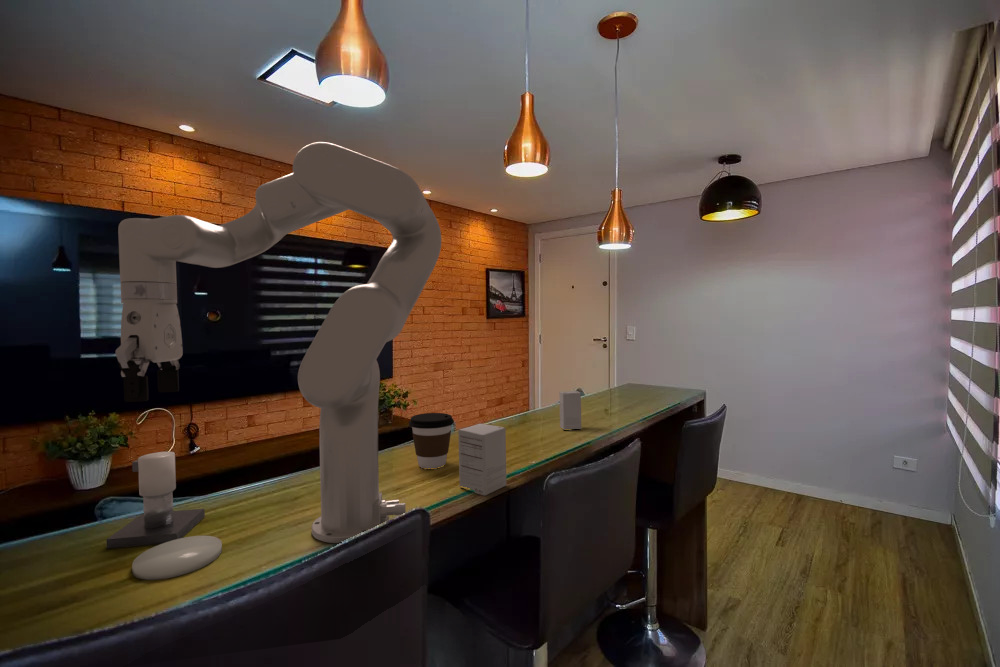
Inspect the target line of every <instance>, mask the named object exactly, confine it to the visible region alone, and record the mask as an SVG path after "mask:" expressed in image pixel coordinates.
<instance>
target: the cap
mask: <svg viewBox="0 0 1000 667" xmlns="http://www.w3.org/2000/svg"><path fill="white" fill-rule="evenodd" d="M131 466H132V468H131V469H132V472H133V473H135V472H138V491H139V492H138V493H139V494H138V495H139V496H140V497H143V496H157V495H161V494H165V493H168V492H171V491H172V492H174V491H175V490H176V489H177V483H176V482H177V480H176V479H177V478H176V477H177V476H176V453H175V451H160V452H159V451H158V452H152V453H148V454H144V455H142V456H139V457H138V458H137V459H136V460H134V461H132V463H131Z"/></svg>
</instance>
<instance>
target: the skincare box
mask: <svg viewBox="0 0 1000 667" xmlns="http://www.w3.org/2000/svg"><path fill="white" fill-rule="evenodd" d="M558 396H559V397H558V398H559V428H560V427H561V428H563V429H564V430H565V429H581V430H582V393H581V392H579V391H578V390H568V391H566V390H565V391H559V395H558ZM561 428H560V429H561Z"/></svg>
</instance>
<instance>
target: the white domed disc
mask: <svg viewBox="0 0 1000 667" xmlns="http://www.w3.org/2000/svg"><path fill="white" fill-rule="evenodd" d="M222 543H223V542H222V540H221V539H220V538H219V537H216V536H213V535H212V536H211V535H193V536H186V537H185V536H184V537H182V538H180V539H176V540H172V541H169V542H166V543H163V544H156V545H154V546H153V547H151V548H148V549H146V551H143V552H142V553H140V554H139V555H138V556H136V557H135V558H134V560H133V561H132V566H131V570H132V575H133V576H134V577H135V578H137V579H140V580H145V581H146V580H147V581H154V580H156V581H157V580H165V579H170V578H176V577H180V576H182V575H186V574H189V573H191V572H195V571H198V570H199V569H201V568H204V567H206V566H208V565H210V563H212V562H214V561H215V560H216V559H217V558H218V557H220V555H221V553H222V551H223V544H222Z"/></svg>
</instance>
